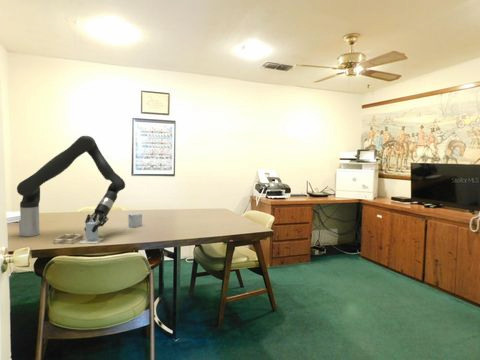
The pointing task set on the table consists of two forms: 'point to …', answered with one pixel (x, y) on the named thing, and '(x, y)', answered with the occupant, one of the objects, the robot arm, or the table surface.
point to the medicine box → (135, 220)
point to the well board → (68, 238)
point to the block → (89, 232)
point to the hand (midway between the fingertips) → (89, 231)
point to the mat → (92, 241)
